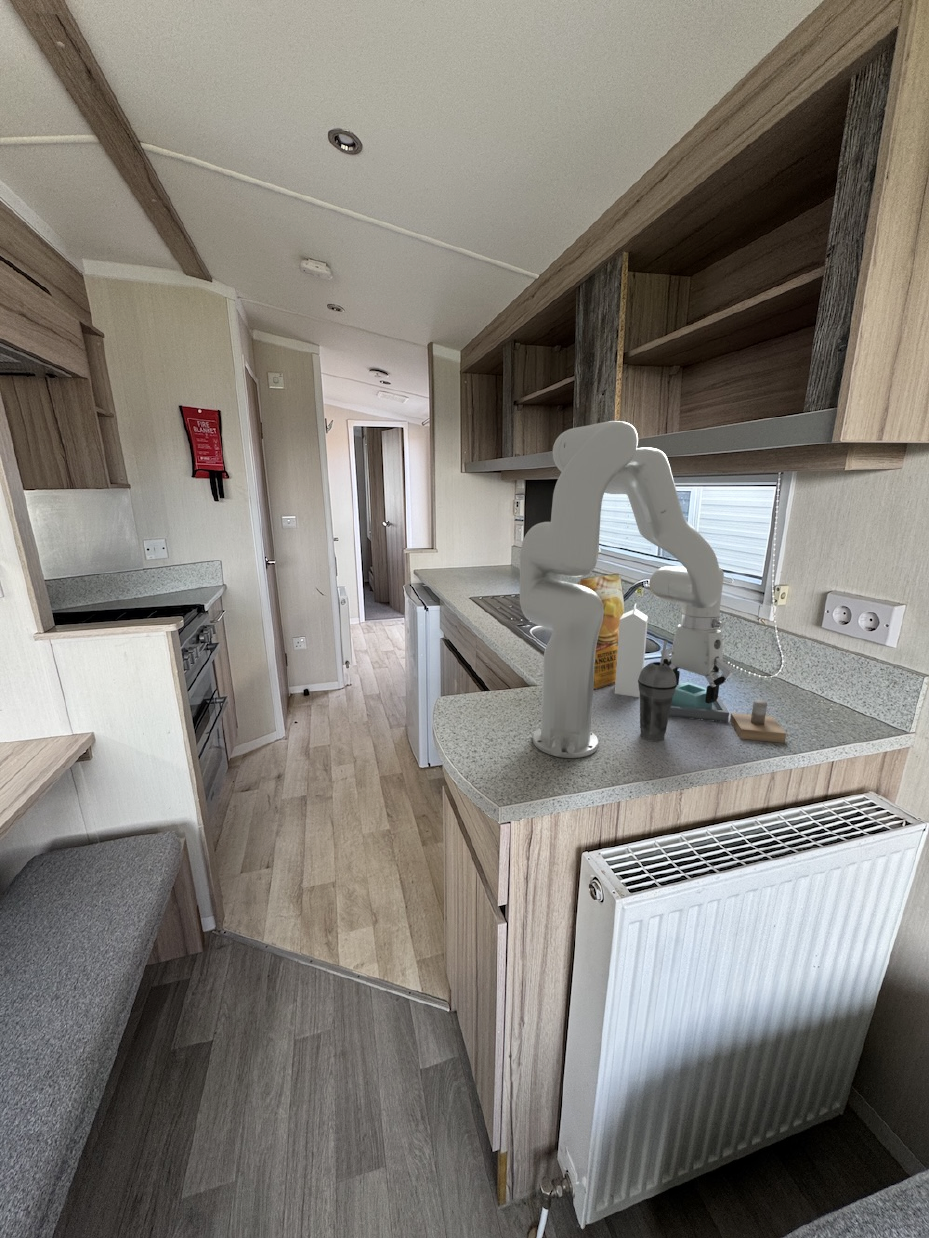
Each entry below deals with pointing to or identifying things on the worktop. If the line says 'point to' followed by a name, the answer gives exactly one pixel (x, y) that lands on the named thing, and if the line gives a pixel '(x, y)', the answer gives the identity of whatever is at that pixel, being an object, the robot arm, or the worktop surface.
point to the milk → (630, 652)
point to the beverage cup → (656, 698)
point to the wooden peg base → (758, 724)
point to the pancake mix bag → (607, 626)
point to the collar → (690, 696)
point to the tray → (702, 712)
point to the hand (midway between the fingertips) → (691, 694)
